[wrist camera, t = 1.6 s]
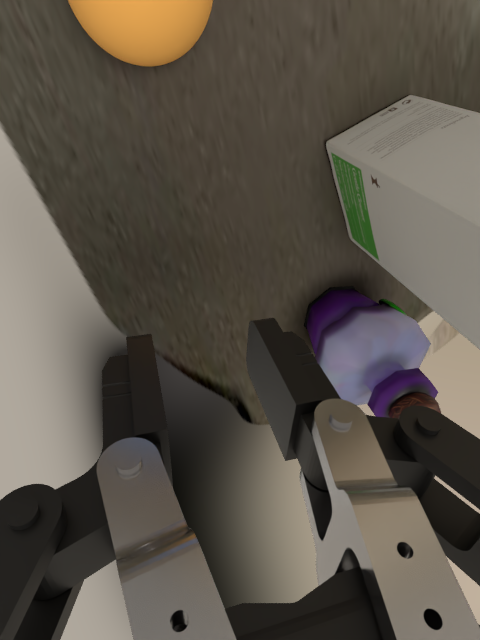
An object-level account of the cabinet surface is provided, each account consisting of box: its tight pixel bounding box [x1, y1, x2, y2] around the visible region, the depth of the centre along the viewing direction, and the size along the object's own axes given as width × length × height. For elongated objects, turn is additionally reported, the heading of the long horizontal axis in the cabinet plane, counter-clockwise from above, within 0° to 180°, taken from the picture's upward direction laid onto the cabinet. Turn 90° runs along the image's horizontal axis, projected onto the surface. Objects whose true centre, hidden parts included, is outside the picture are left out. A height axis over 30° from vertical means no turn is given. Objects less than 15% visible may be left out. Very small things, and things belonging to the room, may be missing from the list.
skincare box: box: [326, 95, 480, 349], centre depth 22 cm, size 8×7×16 cm
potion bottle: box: [304, 286, 441, 418], centre depth 30 cm, size 9×9×12 cm
